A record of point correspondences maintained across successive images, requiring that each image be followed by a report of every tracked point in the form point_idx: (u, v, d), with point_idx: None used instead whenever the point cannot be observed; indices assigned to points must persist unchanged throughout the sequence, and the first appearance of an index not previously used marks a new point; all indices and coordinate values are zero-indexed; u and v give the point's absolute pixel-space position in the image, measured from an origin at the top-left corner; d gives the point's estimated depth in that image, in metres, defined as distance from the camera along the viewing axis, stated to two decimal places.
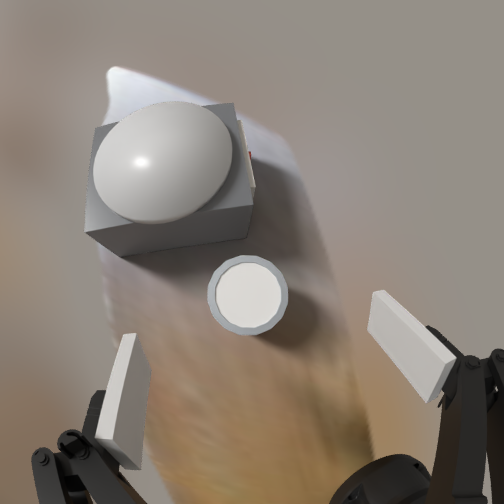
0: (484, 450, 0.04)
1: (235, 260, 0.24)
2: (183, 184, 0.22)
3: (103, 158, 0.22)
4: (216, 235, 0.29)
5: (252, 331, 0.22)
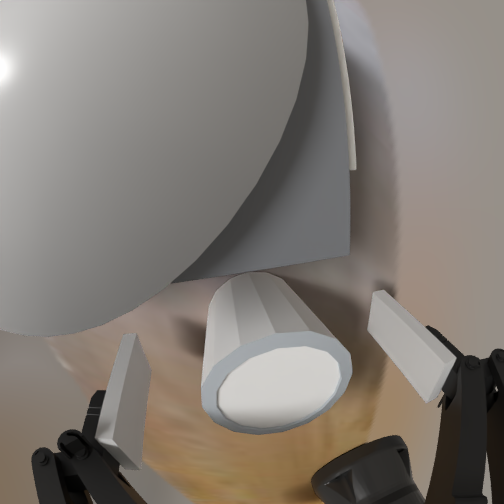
0: (484, 450, 0.04)
1: (262, 345, 0.10)
2: (80, 203, 0.04)
3: None
4: None
5: (278, 430, 0.12)
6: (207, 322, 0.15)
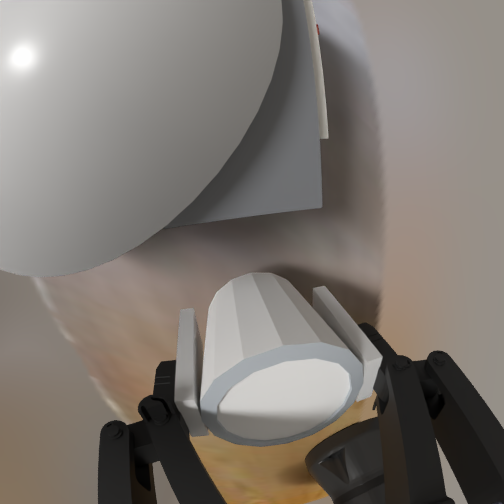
0: (436, 452, 0.05)
1: (268, 358, 0.09)
2: (104, 158, 0.05)
3: None
4: None
5: (283, 442, 0.11)
6: (207, 327, 0.14)
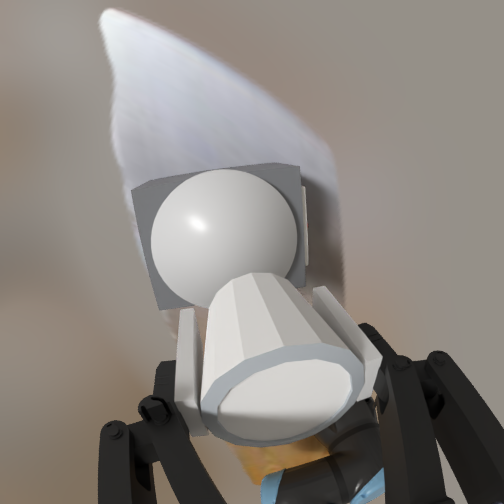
0: (436, 452, 0.05)
1: (269, 359, 0.09)
2: None
3: (161, 247, 0.23)
4: None
5: (283, 443, 0.11)
6: (207, 327, 0.14)
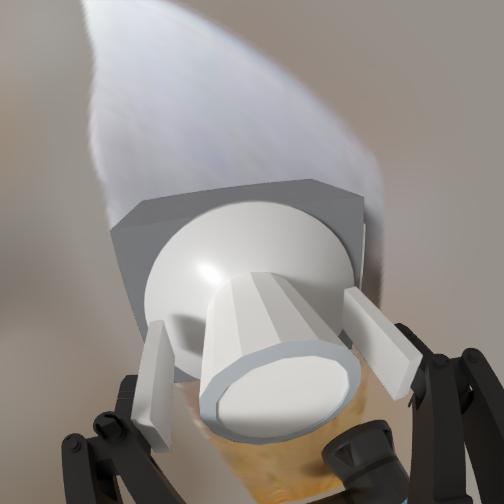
0: (462, 450, 0.05)
1: (266, 355, 0.09)
2: None
3: (161, 317, 0.15)
4: None
5: (281, 440, 0.11)
6: (206, 326, 0.14)
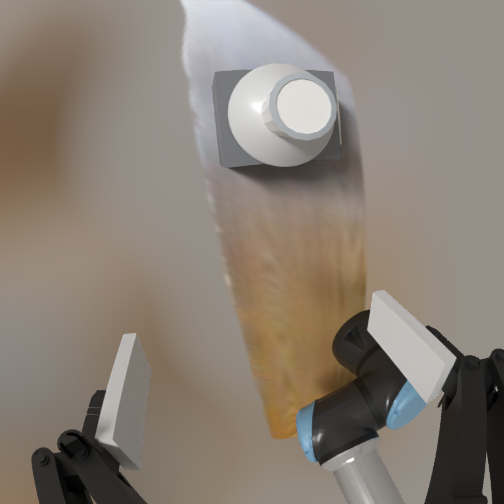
0: (484, 450, 0.04)
1: (295, 76, 0.22)
2: (303, 143, 0.31)
3: (237, 110, 0.29)
4: None
5: (305, 136, 0.24)
6: (263, 102, 0.27)
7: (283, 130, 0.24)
